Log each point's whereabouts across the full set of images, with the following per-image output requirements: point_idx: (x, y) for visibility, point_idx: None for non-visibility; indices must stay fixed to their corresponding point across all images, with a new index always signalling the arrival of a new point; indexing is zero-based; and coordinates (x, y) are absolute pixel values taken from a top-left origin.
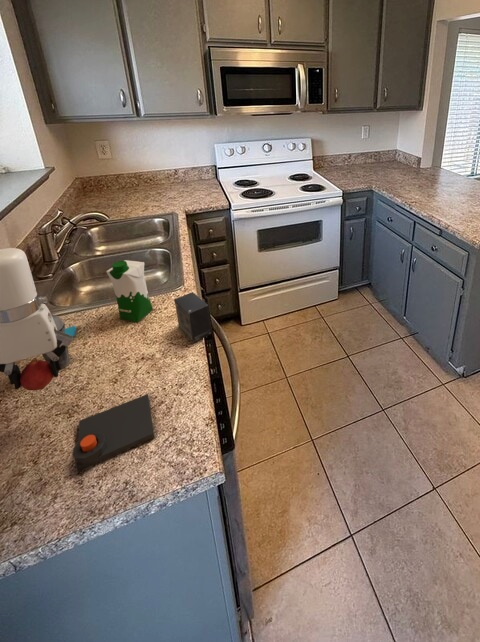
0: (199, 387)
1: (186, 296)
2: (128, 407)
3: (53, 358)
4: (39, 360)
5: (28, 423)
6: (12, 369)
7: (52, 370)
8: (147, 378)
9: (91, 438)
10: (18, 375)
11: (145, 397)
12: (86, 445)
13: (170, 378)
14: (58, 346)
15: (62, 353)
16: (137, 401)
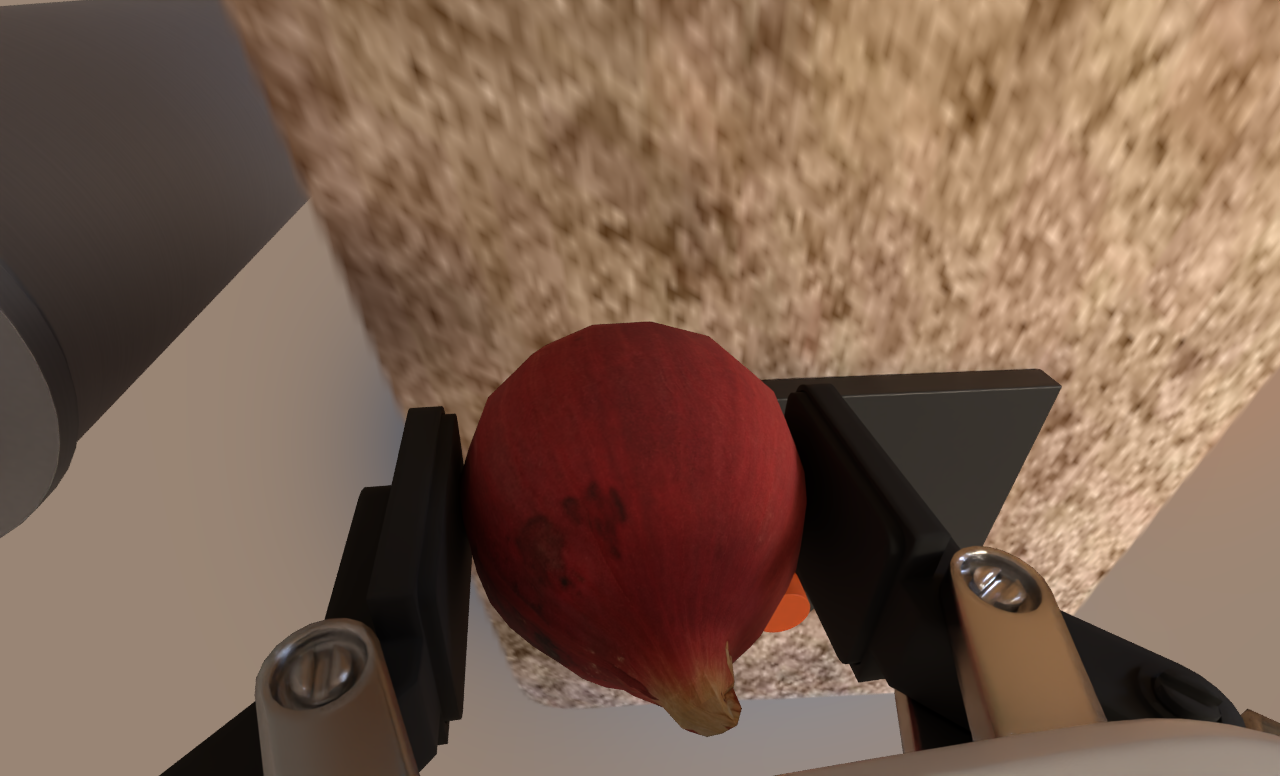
0: (1222, 412)
1: None
2: (953, 427)
3: (922, 700)
4: (737, 588)
5: (439, 213)
6: (417, 765)
7: (805, 580)
8: (1121, 207)
9: (795, 610)
10: (458, 584)
11: (1041, 405)
12: (773, 629)
13: (1195, 282)
14: (1118, 719)
15: None
16: (1001, 411)
